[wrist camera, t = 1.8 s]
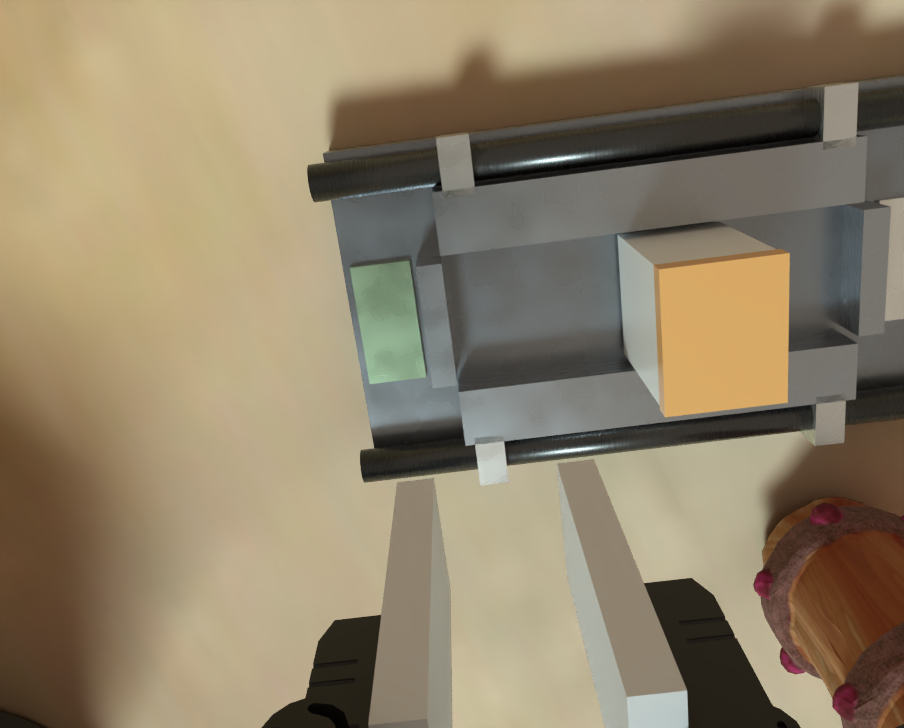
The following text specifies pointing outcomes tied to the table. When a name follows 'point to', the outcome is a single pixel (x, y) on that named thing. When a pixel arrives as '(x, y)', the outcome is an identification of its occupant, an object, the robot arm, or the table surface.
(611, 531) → the robot arm
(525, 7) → the table surface
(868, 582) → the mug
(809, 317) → the panel
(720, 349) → the orange grey block
